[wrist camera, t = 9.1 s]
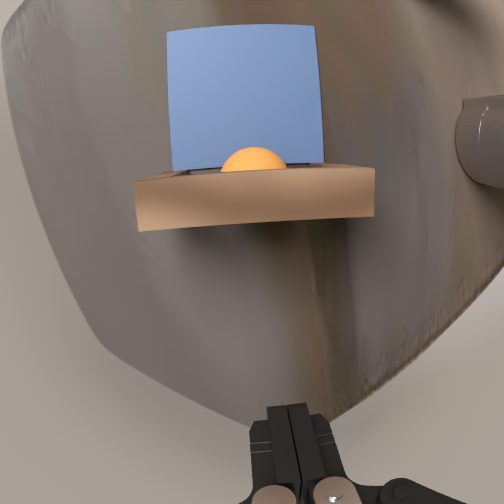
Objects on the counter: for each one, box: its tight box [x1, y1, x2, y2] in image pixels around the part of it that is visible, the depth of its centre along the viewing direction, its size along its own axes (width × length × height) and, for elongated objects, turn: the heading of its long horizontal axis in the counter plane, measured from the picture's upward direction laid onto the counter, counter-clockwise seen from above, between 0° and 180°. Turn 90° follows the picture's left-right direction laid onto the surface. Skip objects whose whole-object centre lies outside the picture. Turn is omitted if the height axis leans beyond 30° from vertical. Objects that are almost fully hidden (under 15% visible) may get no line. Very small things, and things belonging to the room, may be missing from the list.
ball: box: [221, 147, 287, 172], centre depth 24 cm, size 6×6×6 cm
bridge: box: [133, 162, 375, 231], centre depth 23 cm, size 3×14×9 cm, turn 93°
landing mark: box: [167, 24, 324, 171], centre depth 24 cm, size 13×13×1 cm
